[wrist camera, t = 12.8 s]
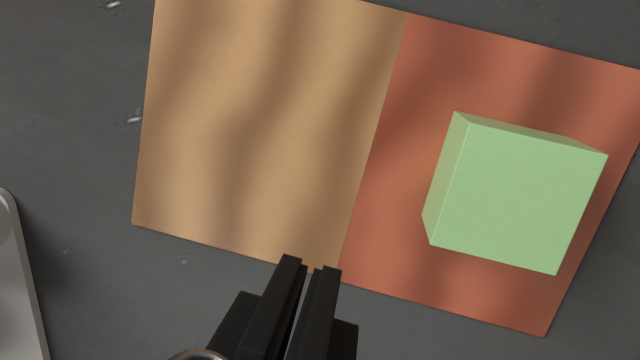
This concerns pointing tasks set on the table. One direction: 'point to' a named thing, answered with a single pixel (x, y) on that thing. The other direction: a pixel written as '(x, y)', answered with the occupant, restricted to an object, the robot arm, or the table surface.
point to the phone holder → (17, 292)
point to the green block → (509, 192)
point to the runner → (358, 141)
